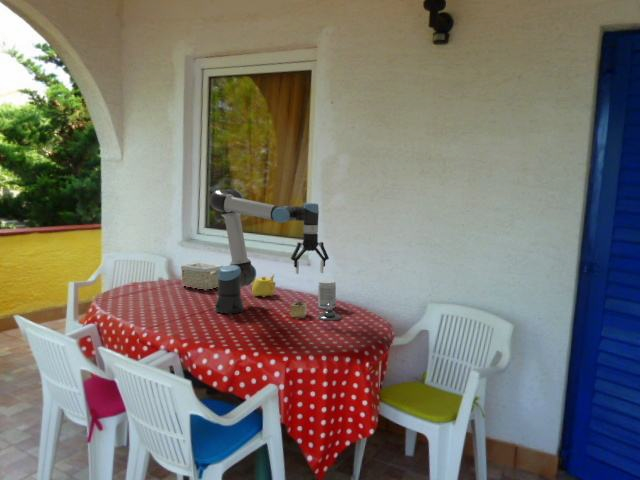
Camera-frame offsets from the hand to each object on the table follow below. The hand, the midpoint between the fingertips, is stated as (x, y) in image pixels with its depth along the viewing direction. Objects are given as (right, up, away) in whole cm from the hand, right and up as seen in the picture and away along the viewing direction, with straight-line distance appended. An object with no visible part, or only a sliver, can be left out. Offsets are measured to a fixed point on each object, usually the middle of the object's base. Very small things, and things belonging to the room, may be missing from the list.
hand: (309, 273), depth 258 cm
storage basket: (-70, -13, +59) cm, 93 cm away
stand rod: (-5, -22, -3) cm, 23 cm away
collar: (-5, -22, -3) cm, 23 cm away
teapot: (-28, -16, +40) cm, 51 cm away
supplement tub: (+9, -20, +15) cm, 27 cm away
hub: (+10, -22, -5) cm, 25 cm away
